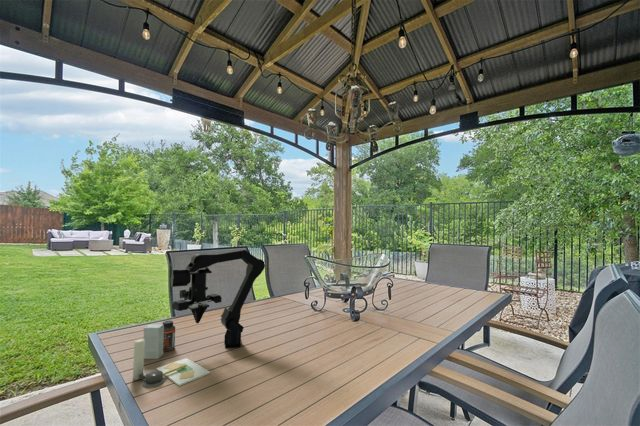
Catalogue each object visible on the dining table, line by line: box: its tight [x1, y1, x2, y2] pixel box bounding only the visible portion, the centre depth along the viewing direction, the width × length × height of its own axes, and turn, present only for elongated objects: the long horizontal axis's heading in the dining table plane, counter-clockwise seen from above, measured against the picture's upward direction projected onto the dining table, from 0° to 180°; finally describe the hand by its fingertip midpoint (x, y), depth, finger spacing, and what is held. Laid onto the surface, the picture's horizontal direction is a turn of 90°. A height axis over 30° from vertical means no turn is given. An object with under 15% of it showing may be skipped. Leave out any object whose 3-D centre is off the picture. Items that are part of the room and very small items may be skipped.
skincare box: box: [143, 323, 164, 360], centre depth 117 cm, size 6×4×12 cm
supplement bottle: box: [162, 319, 176, 352], centre depth 125 cm, size 6×6×11 cm
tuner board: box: [141, 357, 211, 388], centre depth 103 cm, size 18×17×1 cm
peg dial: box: [132, 338, 187, 384], centre depth 102 cm, size 11×15×12 cm
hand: (197, 323), depth 122 cm, fingers closed
